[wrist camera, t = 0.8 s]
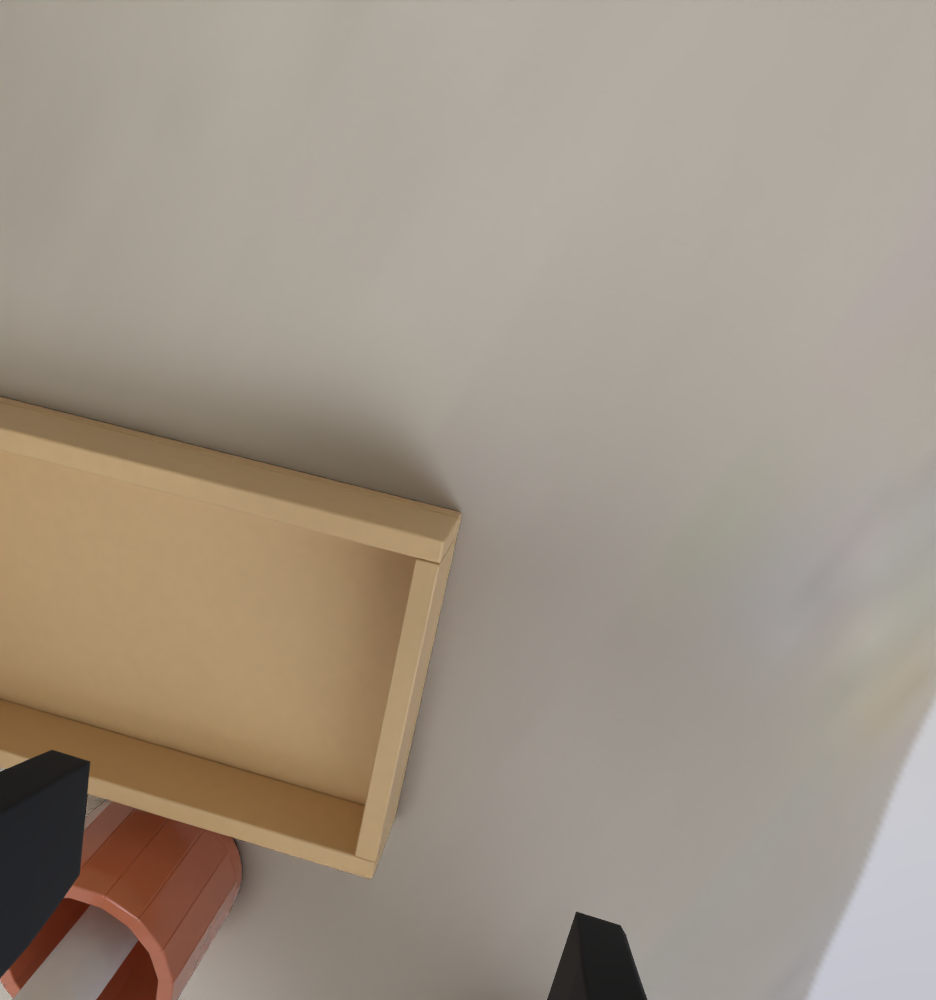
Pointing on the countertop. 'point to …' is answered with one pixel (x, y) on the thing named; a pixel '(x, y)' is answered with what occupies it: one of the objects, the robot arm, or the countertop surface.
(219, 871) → the cup
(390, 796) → the tray
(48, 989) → the marker
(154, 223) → the countertop surface
